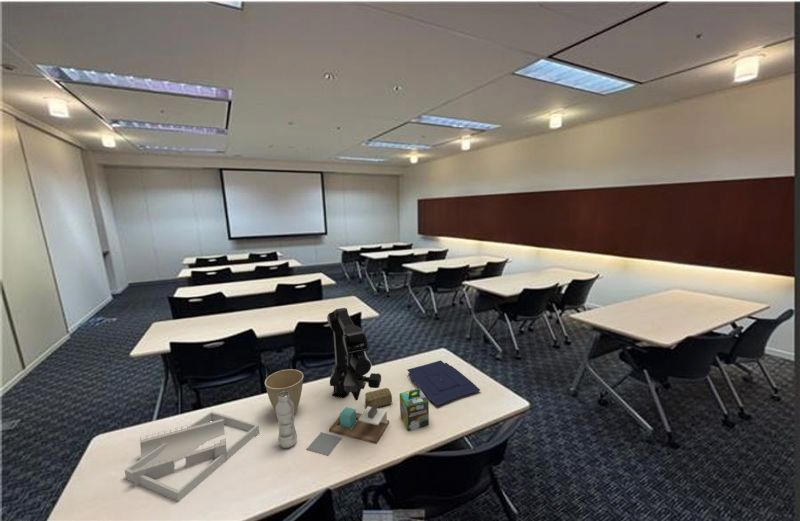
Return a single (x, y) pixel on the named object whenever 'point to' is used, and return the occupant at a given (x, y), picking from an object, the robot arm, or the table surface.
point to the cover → (373, 416)
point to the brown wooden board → (360, 430)
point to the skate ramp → (181, 449)
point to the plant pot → (285, 386)
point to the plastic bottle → (286, 420)
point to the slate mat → (324, 444)
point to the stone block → (378, 398)
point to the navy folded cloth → (441, 382)
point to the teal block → (348, 417)
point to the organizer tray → (206, 471)
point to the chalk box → (414, 409)
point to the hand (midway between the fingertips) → (356, 399)
